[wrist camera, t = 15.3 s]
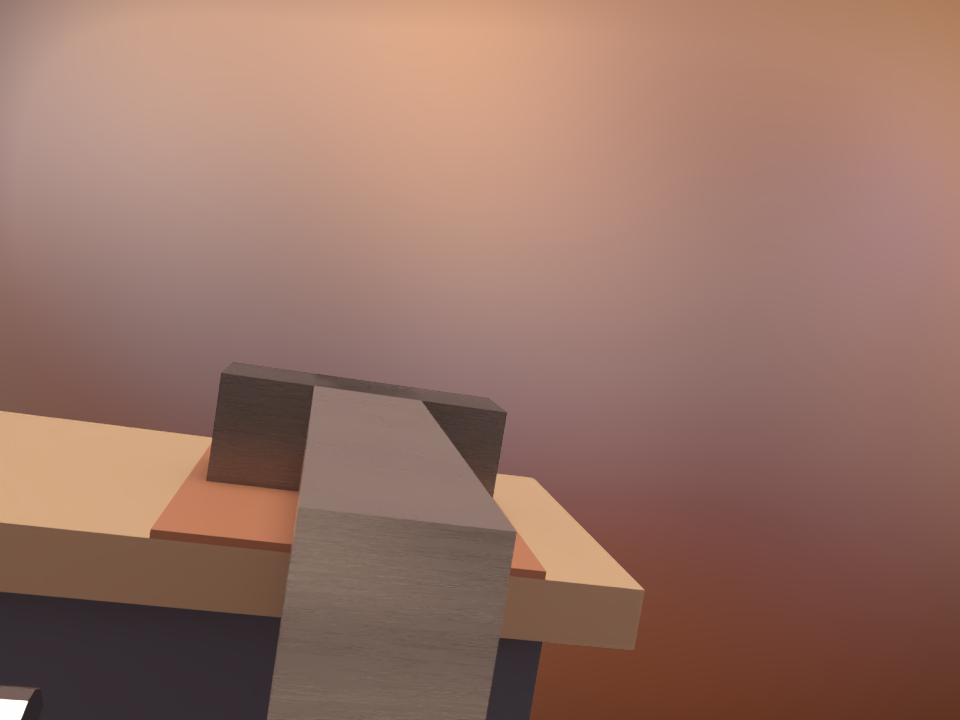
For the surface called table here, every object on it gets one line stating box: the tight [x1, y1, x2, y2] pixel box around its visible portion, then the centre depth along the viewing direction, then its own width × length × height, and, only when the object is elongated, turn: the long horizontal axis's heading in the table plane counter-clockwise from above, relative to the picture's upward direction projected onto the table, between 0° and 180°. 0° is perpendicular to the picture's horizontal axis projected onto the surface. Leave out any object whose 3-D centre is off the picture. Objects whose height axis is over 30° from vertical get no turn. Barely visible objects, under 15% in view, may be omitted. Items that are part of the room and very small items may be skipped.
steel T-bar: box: [206, 362, 517, 720], centre depth 20 cm, size 8×16×3 cm, turn 9°
